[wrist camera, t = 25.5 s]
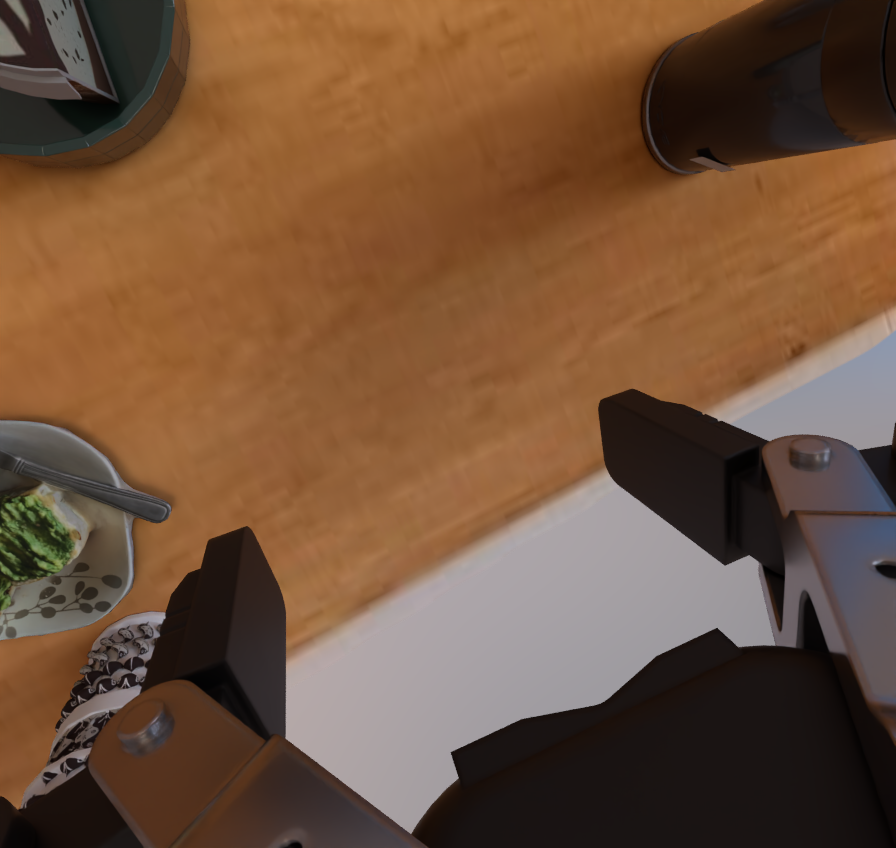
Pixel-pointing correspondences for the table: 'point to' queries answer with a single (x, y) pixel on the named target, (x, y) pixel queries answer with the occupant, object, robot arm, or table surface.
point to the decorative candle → (98, 697)
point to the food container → (52, 52)
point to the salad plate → (63, 530)
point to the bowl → (135, 81)
